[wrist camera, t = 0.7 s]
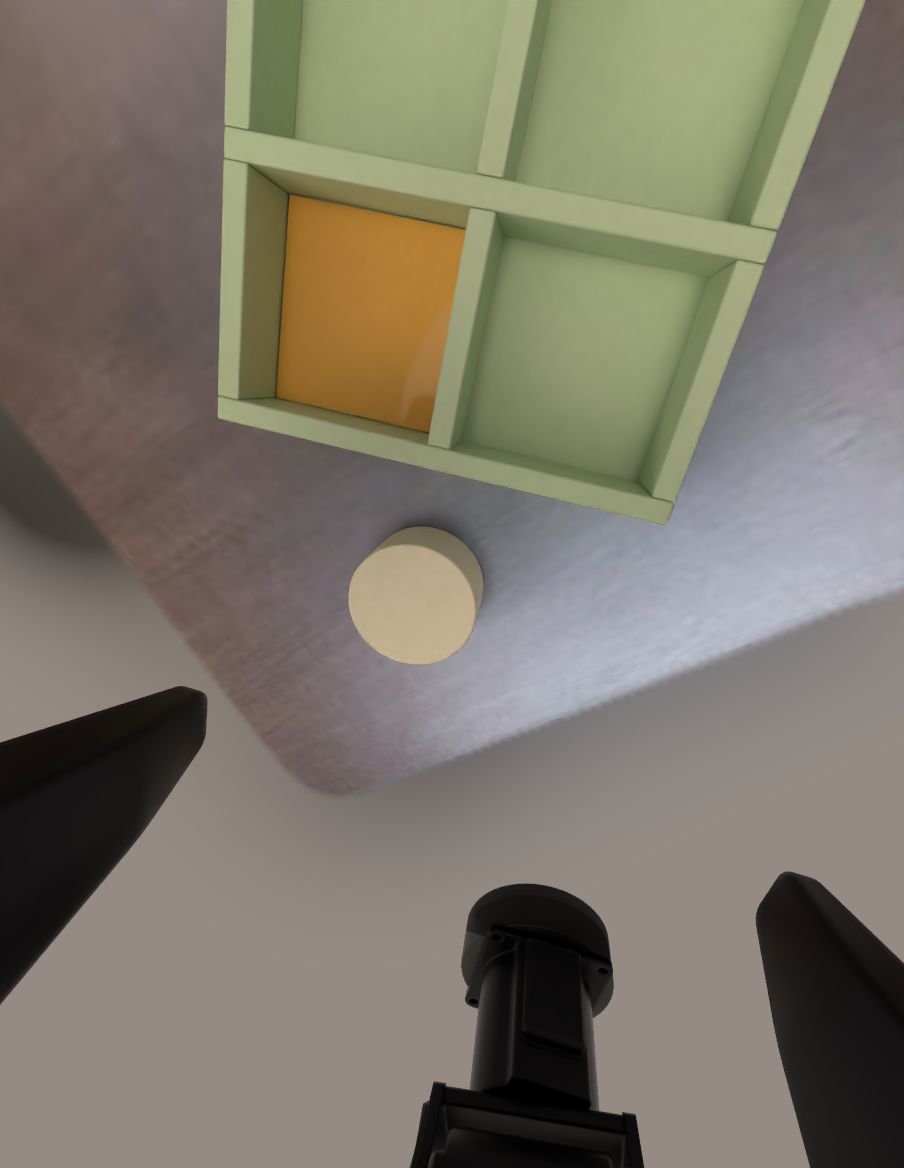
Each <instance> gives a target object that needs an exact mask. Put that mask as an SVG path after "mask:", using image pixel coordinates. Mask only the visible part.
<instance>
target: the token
mask: <svg viewBox="0 0 904 1168" xmlns="http://www.w3.org/2000/svg"><path fill="white" fill-rule="evenodd" d="M483 592H484V581H483V575H482V571H481V568H480V565H479V563H478V561H477V559H476V557H475V555H474V554H473V553H472V551H471V550H470V549H469V548H468V547H467V546H466V545H465V544H464V543H463V542H462V541H461V540H460V539H458V538H457V537H455V536H454V535H452V534H450V533H448V532H446V531H443V530H440V529H437V528H432V527H423V526H419V527H410V528H406V529H403V530H400V531H398V532H396V533H394V534H392V535H391V536H389V537H388V538H386V539H385V540H384V541H383V542H382V543H381V544H380V545H379V546H378V547H377V548H376V549H375V550H374V551H373V552H372V553H371V554H370V555H369V556H368V557H367V558H366V559H365V560H364V561H363V562H362V563H361V564H360V565H359V567H358V568H357V570H356V571H355V573H354V575H353V577H352V580H351V583H350V588H349V596H348V600H349V609H350V614H351V617H352V620H353V622H354V624H355V626H356V628H357V630H358V632H359V633H360V635H361V636H362V637H363V638H364V640H365V641H366V642H367V643H368V644H369V645H370V646H371V647H372V648H374V649H375V650H376V651H378V652H379V653H381V654H382V655H384V656H386V657H388V658H390V659H392V660H395V661H398V662H401V663H406V664H414V665H424V664H431V663H435V662H439V661H441V660H444V659H446V658H448V657H450V656H451V655H453V654H454V653H456V652H457V651H458V650H459V649H460V648H461V647H462V646H463V645H464V644H465V643H466V641H467V640H468V638H469V637H470V635H471V633H472V631H473V628H474V625H475V621H476V618H477V615H478V611H479V608H480V605H481V601H482V597H483Z"/></svg>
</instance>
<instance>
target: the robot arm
mask: <svg viewBox="0 0 904 1168" xmlns="http://www.w3.org/2000/svg"><path fill="white" fill-rule="evenodd" d="M206 719H207V696H206V695H205V693H203V692H201V691H198V690H195V689H191V688H188V687H185V686H178V687H174V688H171V689H168V690H165V691H162V692H158V693H155V694H152V695H149V696H146V697H143V698H139V699H137V700H133V701H130V702H127V703H124V704H121V705H117V706H114V707H111V708H108V709H105V710H102V711H99V712H95V713H92V714H89V715H86V716H83V717H80V718H77V719H73V720H70V721H67V722H64V723H61V724H57V725H54V726H51V727H48V728H45V729H42V730H39V731H35V732H32V733H29V734H26V735H23V736H20V737H17V738H13V739H11V740H7V741H4V742H1V743H0V1004H1V1003H2V1002H3V1001H4V1000H5V998H6V997H7V996H8V995H9V994H10V992H11V991H12V990H13V989H14V988H15V986H16V985H17V984H18V983H19V982H20V980H21V979H22V978H23V977H24V976H25V974H26V973H27V972H28V971H29V970H30V968H31V967H32V966H33V965H34V963H35V962H36V961H37V960H38V959H39V957H40V956H41V955H42V954H43V953H44V952H45V950H46V949H47V948H48V947H49V946H50V944H51V943H52V942H53V941H54V939H55V938H56V937H57V936H58V935H59V934H60V932H61V931H62V930H63V929H64V928H65V926H66V925H67V924H68V923H69V922H70V920H71V919H72V918H73V917H74V916H75V914H76V913H77V912H78V911H79V909H80V908H81V907H82V906H83V905H84V904H85V902H86V901H87V900H88V899H89V898H90V896H91V895H92V894H93V893H94V892H95V890H96V889H97V888H98V887H99V886H100V884H101V883H102V882H103V881H104V880H105V878H106V877H107V876H108V875H109V874H110V872H111V871H112V870H113V869H114V867H115V866H116V865H117V864H118V863H119V862H120V860H121V859H122V858H123V857H124V856H125V854H126V853H127V852H128V851H129V849H130V848H131V847H132V846H133V844H134V843H135V842H136V841H137V839H138V838H139V837H140V836H141V834H142V833H143V831H144V830H145V829H146V827H147V826H148V825H149V823H150V822H151V820H152V819H153V817H154V816H155V815H156V813H157V812H158V810H159V809H160V807H161V806H162V804H163V803H164V801H165V800H166V798H167V797H168V795H169V794H170V793H171V791H172V790H173V788H174V787H175V785H176V784H177V782H178V781H179V779H180V778H181V776H182V775H183V773H184V772H185V771H186V769H187V768H188V766H189V764H190V763H191V762H192V760H193V759H194V757H195V756H196V754H197V753H198V751H199V750H200V748H201V746H202V744H203V742H204V739H205V735H206ZM756 927H757V933H758V938H759V944H760V950H761V955H762V961H763V966H764V972H765V977H766V983H767V989H768V995H769V1000H770V1006H771V1011H772V1018H773V1023H774V1028H775V1033H776V1038H777V1042H778V1048H779V1052H780V1056H781V1060H782V1064H783V1067H784V1072H785V1075H786V1079H787V1083H788V1086H789V1090H790V1094H791V1098H792V1101H793V1105H794V1109H795V1112H796V1116H797V1120H798V1124H799V1128H800V1131H801V1135H802V1138H803V1142H804V1146H805V1150H806V1154H807V1157H808V1161H809V1165H810V1168H904V963H903V962H902V961H901V960H900V959H899V958H898V957H897V956H896V955H895V954H894V953H892V952H891V951H890V950H889V949H888V948H887V947H886V946H885V945H884V944H883V943H882V942H881V941H880V940H879V939H878V938H877V937H876V936H875V935H874V934H873V933H872V932H871V931H870V930H869V929H867V927H865V926H864V925H863V924H862V923H861V922H860V921H859V920H858V919H857V918H856V917H855V916H854V915H853V914H852V913H851V912H850V911H849V910H848V909H847V908H846V907H845V906H844V905H843V904H842V903H841V902H840V901H839V900H837V899H836V898H835V897H834V896H833V895H832V894H831V893H830V892H829V891H828V890H827V889H826V888H825V887H824V886H823V885H822V884H821V883H820V882H818V881H817V880H815V879H813V878H810V877H807V876H803V875H800V874H796V873H793V872H784V873H782V874H780V875H779V877H778V878H777V880H776V881H775V883H774V884H773V885H772V887H771V888H770V890H769V892H768V893H767V894H766V896H765V897H764V899H763V900H762V902H761V903H760V905H759V907H758V910H757V913H756ZM612 974H613V968H612V962H611V960H610V959H608V958H606V957H604V956H600V955H597V954H594V953H591V952H587V951H584V950H581V949H578V948H574V947H571V946H568V945H565V944H561V943H558V942H555V941H552V940H548V939H545V938H542V937H539V936H535V935H532V934H529V933H526V932H522V931H519V930H516V929H513V928H509V927H506V926H503V925H499V924H492V925H490V926H489V928H488V930H487V933H486V936H485V939H484V942H483V945H482V948H481V950H480V953H479V956H478V959H477V962H476V965H475V967H474V970H473V973H472V976H471V979H470V982H469V985H468V988H467V991H466V997H465V1001H466V1003H467V1004H468V1005H469V1006H472V1007H474V1008H478V1018H477V1027H476V1036H475V1045H474V1054H473V1064H472V1073H471V1082H470V1090H467V1089H461V1088H455V1087H448V1086H446V1083H441V1082H434V1083H433V1087H432V1091H431V1096H430V1100H429V1101H427V1102H425V1103H424V1104H423V1107H422V1113H421V1119H420V1125H419V1131H418V1136H417V1141H416V1147H415V1151H414V1155H413V1158H412V1162H411V1165H410V1168H644V1164H643V1158H642V1152H641V1145H640V1139H639V1133H638V1126H637V1120H636V1115H635V1114H631V1113H625V1112H622V1115H619V1114H612V1113H607V1112H601V1111H599V1099H598V1086H597V1072H596V1059H595V1044H594V1030H593V1016H592V1013H593V1011H594V1009H595V1007H596V1005H597V1003H598V1001H599V999H600V997H601V995H602V993H603V991H604V990H605V988H606V986H607V984H608V982H609V980H610V978H611V976H612Z"/></svg>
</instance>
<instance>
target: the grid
mask: <svg viewBox="0 0 904 1168" xmlns="http://www.w3.org/2000/svg"><path fill="white" fill-rule="evenodd" d="M865 1H866V0H227V36H226V77H225V118H224V122H225V125H226V126H227V127H225V140H224V156H225V158H226V159H224V167H223V208H222V249H221V290H220V331H219V372H218V395H220V396H219V397H218V418H220V419H222V420H227V421H231V422H235V423H239V424H243V425H248V426H252V427H256V428H260V429H264V430H269V431H273V432H277V433H281V434H285V435H289V436H294V437H298V438H302V439H306V440H310V441H315V442H319V443H323V444H327V445H331V446H335V447H340V448H344V449H348V450H352V451H356V452H361V453H365V454H369V455H373V456H377V457H381V458H386V459H390V460H394V461H398V462H402V463H407V464H411V465H415V466H419V467H423V468H427V469H432V470H436V471H440V472H444V473H448V474H453V475H457V476H461V477H465V478H469V479H473V480H478V481H482V482H486V483H490V484H494V485H499V486H503V487H507V488H511V489H515V490H519V491H524V492H528V493H532V494H536V495H540V496H545V497H549V498H553V499H557V500H561V501H565V502H570V503H574V504H578V505H582V506H586V507H591V508H595V509H599V510H603V511H607V512H611V513H616V514H620V515H624V516H628V517H632V518H637V519H641V520H645V521H649V522H653V523H657V524H662V525H666V524H667V523H668V520H669V518H670V515H671V512H672V510H673V507H674V503H673V502H675V501H676V499H677V496H678V494H679V491H680V489H681V486H682V483H683V481H684V478H685V475H686V473H687V470H688V468H689V465H690V462H691V460H692V457H693V454H694V452H695V449H696V446H697V444H698V441H699V439H700V436H701V433H702V431H703V428H704V425H705V423H706V420H707V417H708V415H709V412H710V410H711V407H712V404H713V402H714V399H715V396H716V394H717V391H718V388H719V386H720V383H721V381H722V378H723V375H724V373H725V370H726V367H727V365H728V362H729V360H730V357H731V354H732V352H733V349H734V346H735V344H736V341H737V338H738V336H739V333H740V331H741V328H742V325H743V323H744V320H745V317H746V315H747V312H748V309H749V307H750V304H751V302H752V299H753V296H754V294H755V291H756V288H757V286H758V283H759V280H760V278H761V275H762V273H763V270H764V266H763V264H765V263H766V261H767V259H768V257H769V254H770V251H771V249H772V246H773V244H774V241H775V238H776V235H777V232H775V231H777V230H778V229H779V227H780V225H781V222H782V220H783V217H784V215H785V212H786V209H787V207H788V204H789V201H790V199H791V196H792V193H793V191H794V188H795V186H796V183H797V180H798V178H799V175H800V172H801V170H802V167H803V165H804V162H805V159H806V157H807V154H808V151H809V149H810V146H811V143H812V141H813V138H814V136H815V133H816V130H817V128H818V125H819V122H820V120H821V117H822V114H823V112H824V109H825V107H826V104H827V101H828V99H829V96H830V93H831V91H832V88H833V85H834V83H835V80H836V78H837V75H838V72H839V70H840V67H841V64H842V62H843V59H844V56H845V54H846V51H847V49H848V46H849V43H850V41H851V38H852V35H853V33H854V30H855V28H856V25H857V22H858V20H859V17H860V14H861V12H862V9H863V6H864V4H865Z"/></svg>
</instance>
